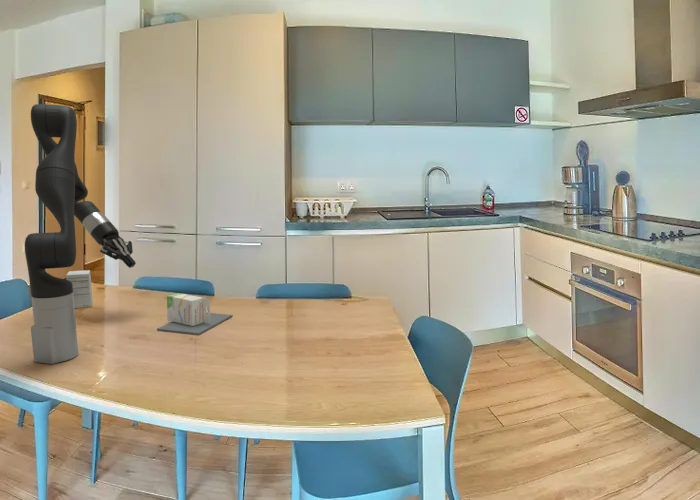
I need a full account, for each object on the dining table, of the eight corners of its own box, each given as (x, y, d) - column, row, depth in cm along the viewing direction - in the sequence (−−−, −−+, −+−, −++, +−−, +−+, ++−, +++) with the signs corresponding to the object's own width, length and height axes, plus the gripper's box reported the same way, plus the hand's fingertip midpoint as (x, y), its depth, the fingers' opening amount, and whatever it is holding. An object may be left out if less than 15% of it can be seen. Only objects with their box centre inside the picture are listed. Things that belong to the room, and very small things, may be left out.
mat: (199, 335, 142) (199, 333, 142) (157, 330, 146) (156, 328, 146) (232, 316, 161) (232, 314, 161) (194, 312, 165) (194, 311, 165)
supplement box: (70, 304, 175) (68, 271, 173) (93, 302, 178) (90, 269, 176) (68, 309, 168) (65, 275, 166) (91, 307, 171) (89, 273, 169)
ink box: (165, 295, 152) (198, 301, 145) (178, 292, 156) (210, 298, 149) (166, 321, 153) (199, 328, 146) (178, 317, 157) (211, 324, 150)
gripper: (90, 222, 151) (124, 261, 150) (120, 219, 164) (152, 255, 162) (78, 238, 153) (112, 277, 152) (109, 233, 166) (140, 269, 164)
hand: (132, 265), depth 157 cm, fingers closed
